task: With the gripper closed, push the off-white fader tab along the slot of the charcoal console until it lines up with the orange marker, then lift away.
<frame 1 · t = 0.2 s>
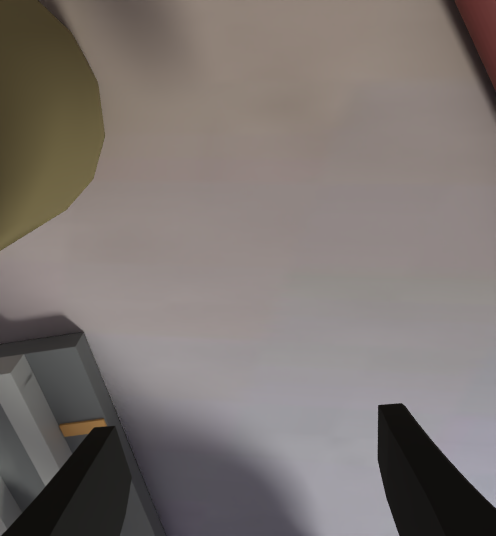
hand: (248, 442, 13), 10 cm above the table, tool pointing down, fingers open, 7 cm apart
squeeze bottle: (29, 95, 19), on the table
console: (45, 469, 28), on the table
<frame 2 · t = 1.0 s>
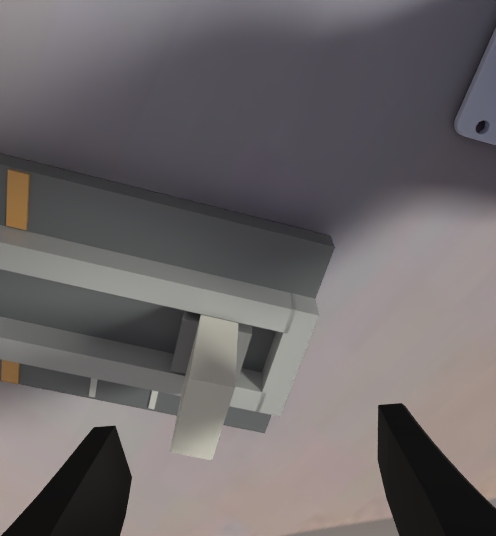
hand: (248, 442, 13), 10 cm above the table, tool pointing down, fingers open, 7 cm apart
fader: (207, 371, 19), point 4 cm above the table, slide at -5.0 cm
console: (112, 294, 22), on the table
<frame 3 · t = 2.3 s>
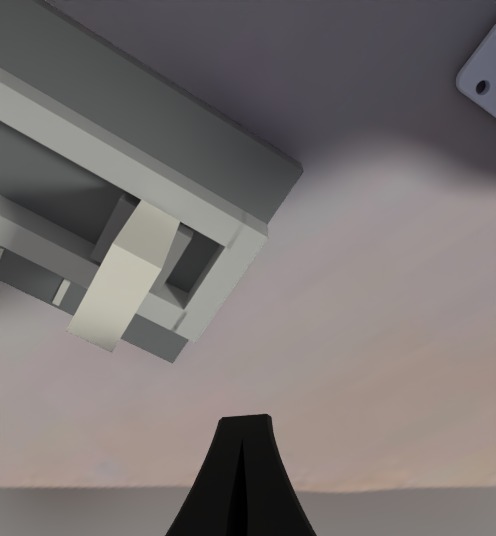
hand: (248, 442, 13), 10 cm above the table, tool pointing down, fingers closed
fader: (132, 262, 17), point 4 cm above the table, slide at -5.0 cm
console: (45, 161, 19), on the table
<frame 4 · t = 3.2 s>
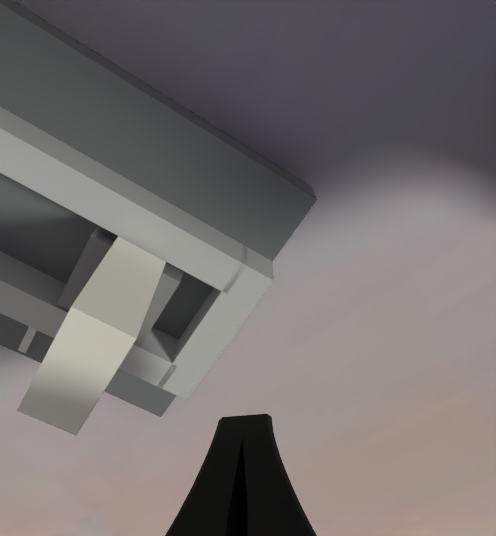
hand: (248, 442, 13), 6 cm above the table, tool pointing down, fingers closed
fader: (106, 314, 14), point 4 cm above the table, slide at -5.0 cm
console: (6, 185, 16), on the table
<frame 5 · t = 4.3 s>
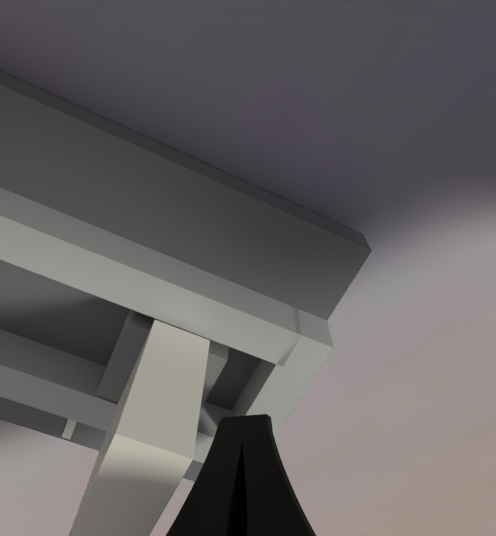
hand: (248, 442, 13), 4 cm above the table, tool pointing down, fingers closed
fader: (151, 408, 12), point 4 cm above the table, slide at -4.9 cm, touching gripper
console: (31, 268, 15), on the table
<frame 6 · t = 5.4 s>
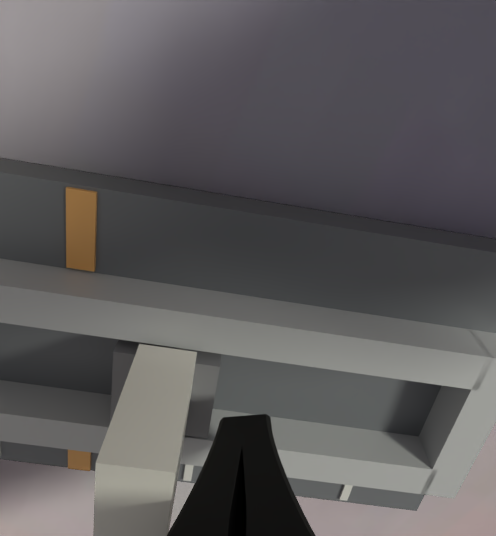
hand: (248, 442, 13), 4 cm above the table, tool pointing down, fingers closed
fader: (154, 429, 13), point 4 cm above the table, slide at 1.1 cm, touching gripper
console: (208, 345, 16), on the table
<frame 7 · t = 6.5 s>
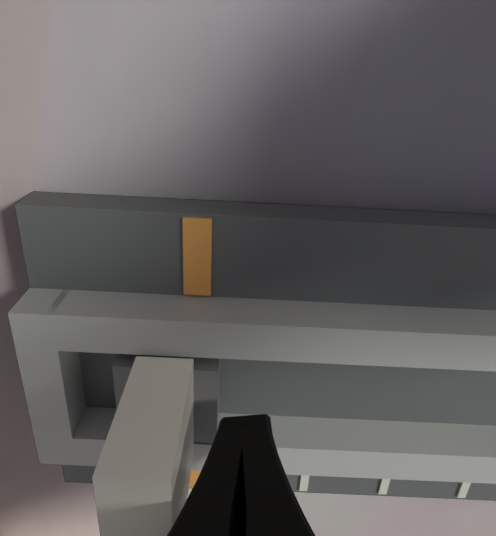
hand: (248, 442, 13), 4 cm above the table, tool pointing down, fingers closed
fader: (159, 439, 13), point 4 cm above the table, slide at 4.7 cm, touching gripper
console: (315, 355, 16), on the table
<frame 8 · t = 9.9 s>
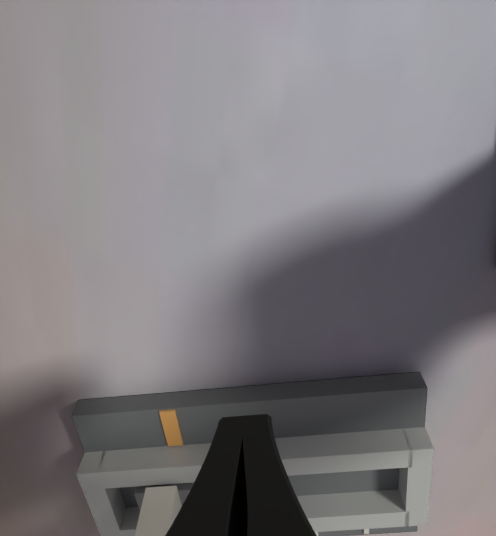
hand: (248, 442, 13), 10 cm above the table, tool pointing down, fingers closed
fader: (163, 532, 24), point 4 cm above the table, slide at 4.7 cm
console: (256, 460, 27), on the table
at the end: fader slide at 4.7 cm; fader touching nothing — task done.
